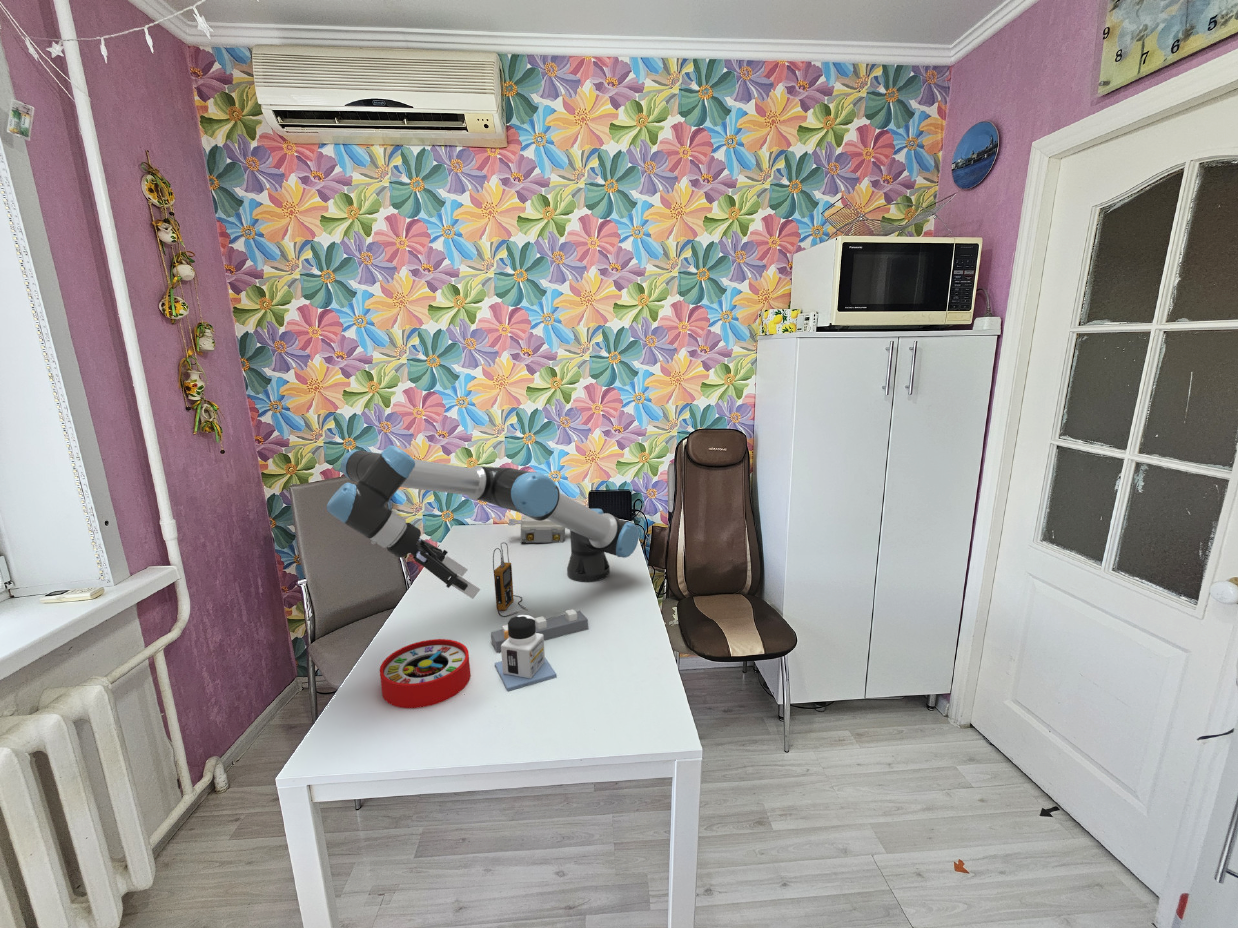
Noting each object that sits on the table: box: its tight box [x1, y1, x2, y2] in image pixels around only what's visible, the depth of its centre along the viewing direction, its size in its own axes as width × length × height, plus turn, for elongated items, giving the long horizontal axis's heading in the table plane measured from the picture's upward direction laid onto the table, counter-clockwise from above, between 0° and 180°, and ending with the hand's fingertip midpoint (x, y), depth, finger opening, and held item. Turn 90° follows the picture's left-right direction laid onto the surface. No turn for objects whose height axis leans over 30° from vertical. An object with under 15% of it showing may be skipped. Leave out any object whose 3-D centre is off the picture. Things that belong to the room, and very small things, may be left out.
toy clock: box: [379, 638, 471, 709], centre depth 129 cm, size 20×6×20 cm
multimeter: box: [492, 542, 528, 618], centre depth 166 cm, size 15×10×20 cm
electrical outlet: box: [507, 514, 566, 544], centre depth 229 cm, size 12×28×10 cm, turn 99°
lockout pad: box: [494, 657, 558, 692], centre depth 133 cm, size 12×12×1 cm
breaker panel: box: [490, 608, 589, 653], centre depth 149 cm, size 26×6×5 cm, turn 116°
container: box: [500, 614, 546, 678], centre depth 131 cm, size 8×8×13 cm
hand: (470, 583), depth 131 cm, fingers open, 13 cm apart
